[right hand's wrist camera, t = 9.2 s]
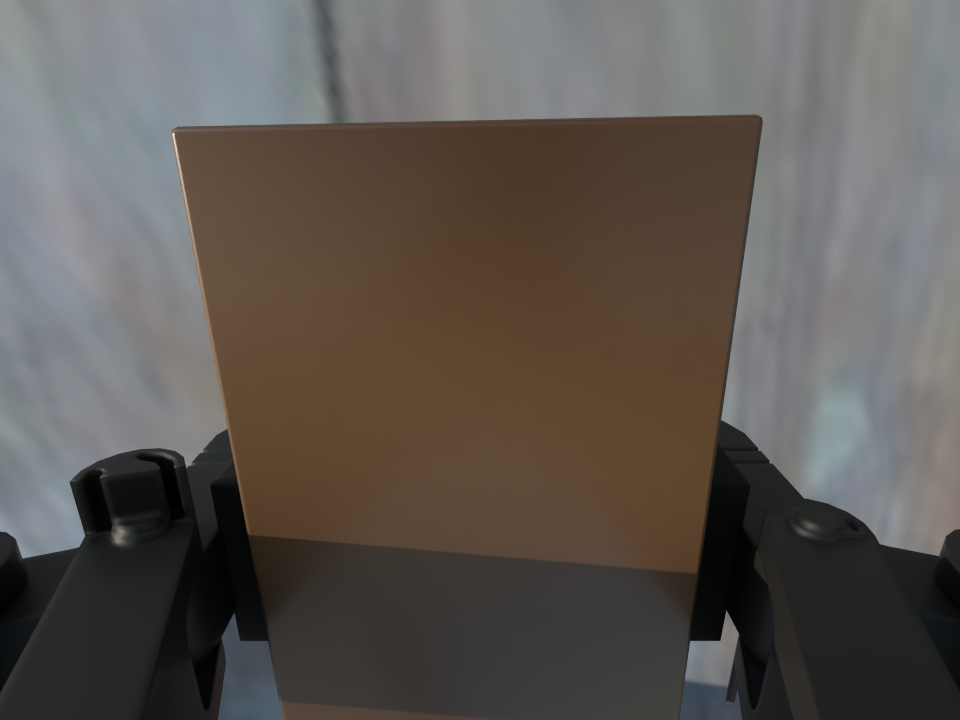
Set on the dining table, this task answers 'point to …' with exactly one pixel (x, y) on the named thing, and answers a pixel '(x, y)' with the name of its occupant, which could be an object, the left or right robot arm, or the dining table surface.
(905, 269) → the dining table surface
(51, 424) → the dining table surface
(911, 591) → the right robot arm
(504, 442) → the bar
